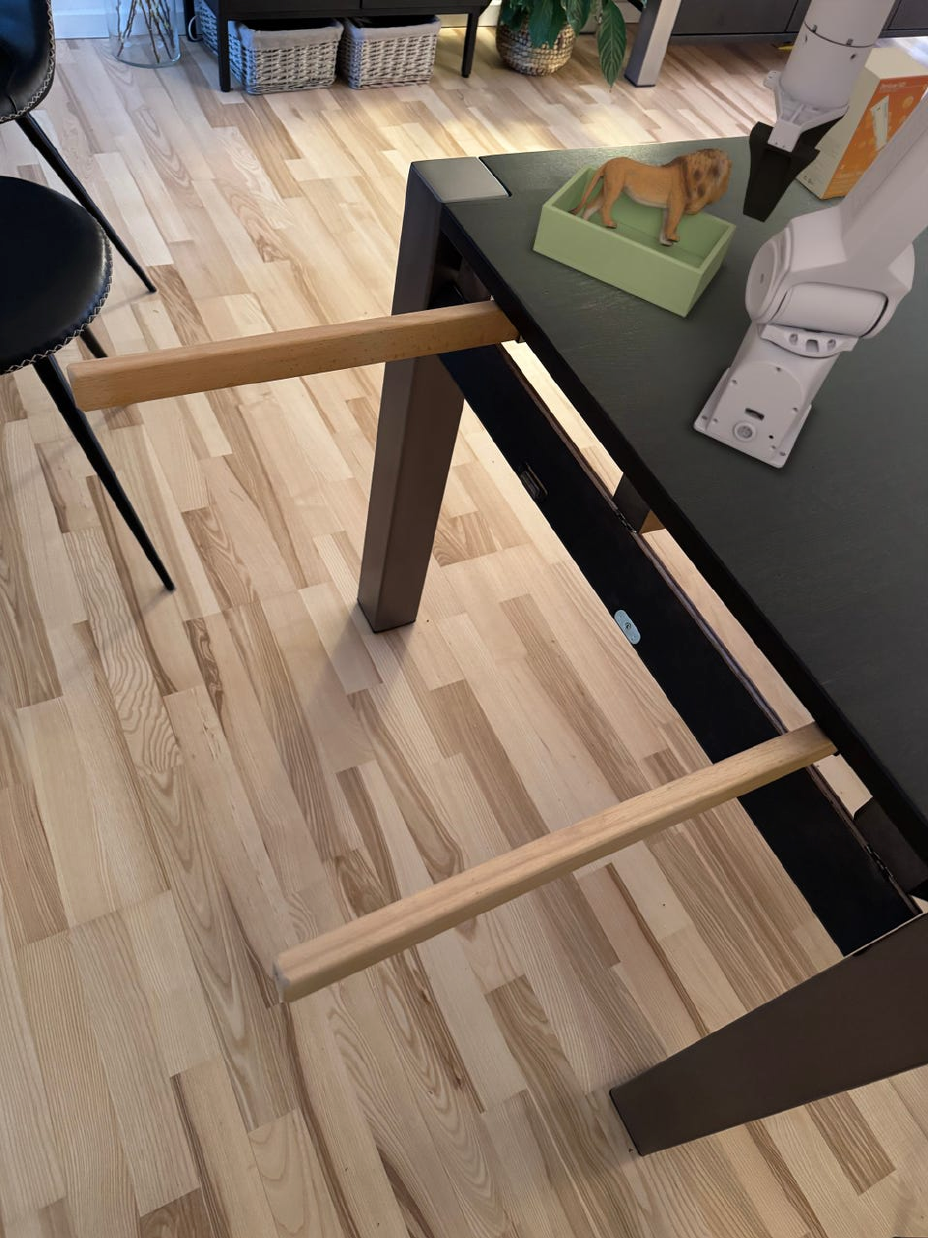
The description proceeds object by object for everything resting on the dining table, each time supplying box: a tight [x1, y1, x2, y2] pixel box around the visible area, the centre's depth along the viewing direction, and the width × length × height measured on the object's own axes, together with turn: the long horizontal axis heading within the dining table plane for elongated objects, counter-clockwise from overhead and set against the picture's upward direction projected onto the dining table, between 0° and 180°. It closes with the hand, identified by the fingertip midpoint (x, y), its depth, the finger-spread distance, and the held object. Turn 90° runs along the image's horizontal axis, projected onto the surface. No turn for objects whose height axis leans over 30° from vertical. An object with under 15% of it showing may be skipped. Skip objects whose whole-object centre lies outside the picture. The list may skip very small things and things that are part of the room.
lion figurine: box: [567, 147, 733, 247], centre depth 85 cm, size 15×5×9 cm
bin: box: [532, 162, 737, 318], centre depth 86 cm, size 10×16×5 cm, turn 61°
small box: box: [795, 46, 928, 200], centre depth 98 cm, size 8×6×13 cm
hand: (766, 198), depth 80 cm, fingers open, 7 cm apart
